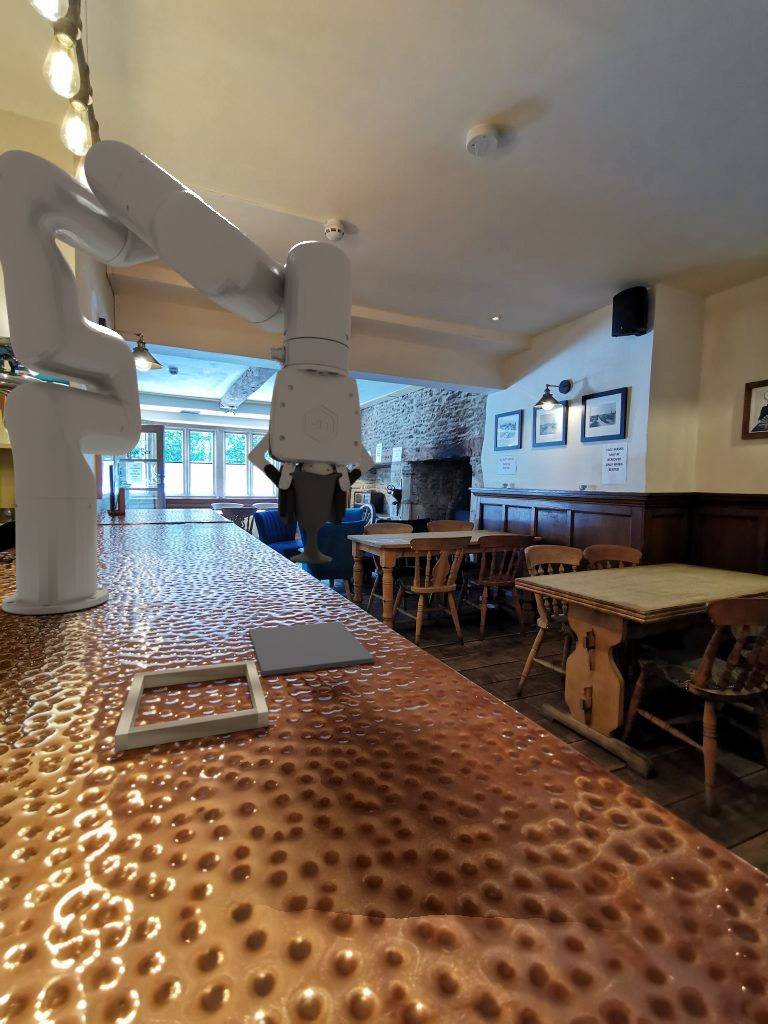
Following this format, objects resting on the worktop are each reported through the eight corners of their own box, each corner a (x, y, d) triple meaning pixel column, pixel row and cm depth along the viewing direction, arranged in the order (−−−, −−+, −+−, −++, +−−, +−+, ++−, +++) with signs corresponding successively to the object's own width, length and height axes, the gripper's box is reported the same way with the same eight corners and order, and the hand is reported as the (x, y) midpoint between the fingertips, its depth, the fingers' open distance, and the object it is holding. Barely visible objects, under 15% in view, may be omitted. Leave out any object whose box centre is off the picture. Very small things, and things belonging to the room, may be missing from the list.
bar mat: (249, 632, 56) (249, 629, 56) (339, 625, 61) (339, 621, 61) (262, 676, 44) (262, 671, 44) (373, 662, 49) (374, 657, 49)
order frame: (135, 685, 41) (135, 673, 41) (253, 671, 45) (253, 660, 45) (114, 751, 31) (114, 735, 31) (268, 726, 35) (268, 711, 35)
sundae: (330, 567, 48) (333, 427, 47) (272, 562, 49) (275, 426, 48) (347, 557, 54) (350, 434, 53) (295, 553, 56) (298, 433, 55)
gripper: (240, 344, 44) (237, 528, 45) (398, 367, 50) (391, 527, 51) (235, 362, 50) (232, 521, 52) (374, 381, 57) (368, 521, 58)
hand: (311, 522), depth 51 cm, fingers closed on sundae, 4 cm apart
